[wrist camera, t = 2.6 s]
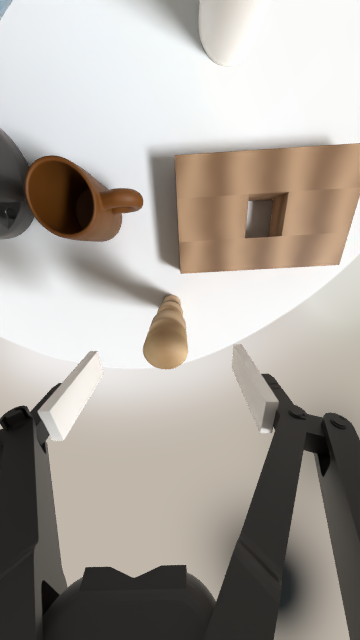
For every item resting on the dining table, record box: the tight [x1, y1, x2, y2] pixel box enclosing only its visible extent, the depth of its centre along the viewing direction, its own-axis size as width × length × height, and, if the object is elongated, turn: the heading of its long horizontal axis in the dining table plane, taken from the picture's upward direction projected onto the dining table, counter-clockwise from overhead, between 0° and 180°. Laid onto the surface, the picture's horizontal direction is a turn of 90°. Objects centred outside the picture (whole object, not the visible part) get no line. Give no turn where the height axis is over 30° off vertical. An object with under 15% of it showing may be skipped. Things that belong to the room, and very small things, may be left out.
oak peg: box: [143, 295, 188, 369], centre depth 25 cm, size 5×5×16 cm
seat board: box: [175, 143, 360, 274], centre depth 25 cm, size 24×14×4 cm, turn 93°
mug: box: [25, 156, 143, 241], centre depth 22 cm, size 12×8×9 cm, turn 94°
